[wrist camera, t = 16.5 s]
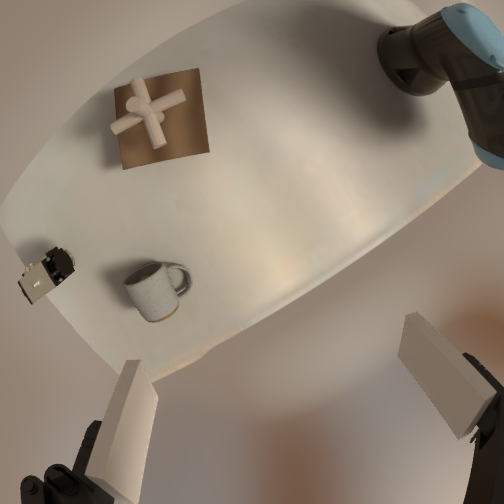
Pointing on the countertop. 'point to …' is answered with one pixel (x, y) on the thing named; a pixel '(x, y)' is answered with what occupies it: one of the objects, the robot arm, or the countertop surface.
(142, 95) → the pipe connector
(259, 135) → the countertop surface
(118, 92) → the walnut stand
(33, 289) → the pneumatic valve
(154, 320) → the ceramic mug
